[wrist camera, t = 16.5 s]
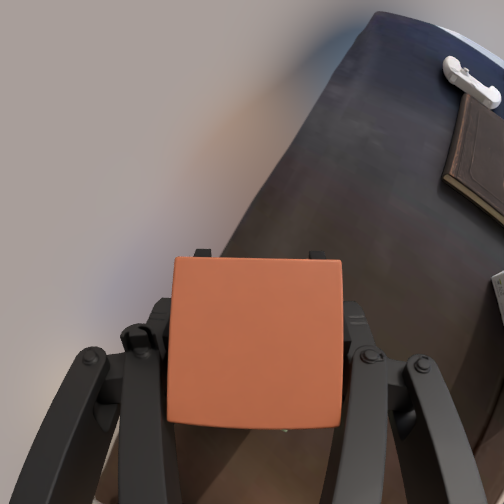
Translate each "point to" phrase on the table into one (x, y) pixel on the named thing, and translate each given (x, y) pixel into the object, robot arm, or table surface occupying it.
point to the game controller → (470, 83)
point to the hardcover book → (478, 158)
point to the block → (256, 343)
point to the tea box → (499, 291)
